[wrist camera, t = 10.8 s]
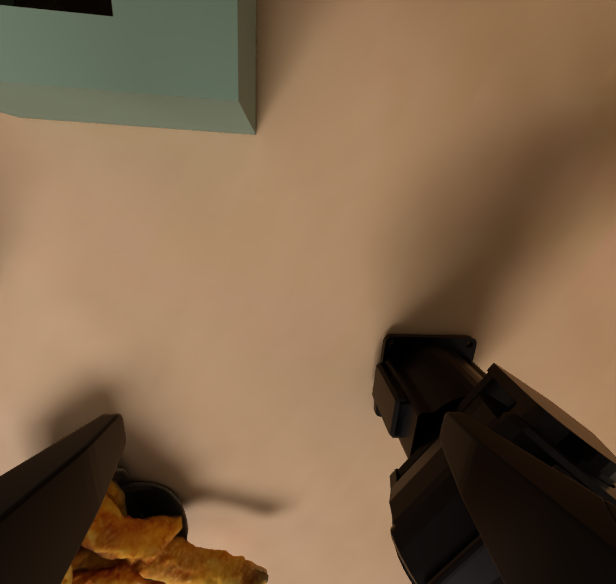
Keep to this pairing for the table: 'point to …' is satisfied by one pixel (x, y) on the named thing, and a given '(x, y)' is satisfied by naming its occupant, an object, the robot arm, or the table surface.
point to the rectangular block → (87, 6)
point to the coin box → (133, 64)
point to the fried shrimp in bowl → (150, 543)
